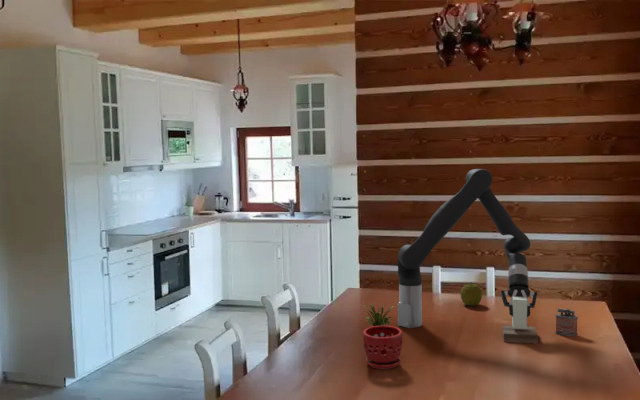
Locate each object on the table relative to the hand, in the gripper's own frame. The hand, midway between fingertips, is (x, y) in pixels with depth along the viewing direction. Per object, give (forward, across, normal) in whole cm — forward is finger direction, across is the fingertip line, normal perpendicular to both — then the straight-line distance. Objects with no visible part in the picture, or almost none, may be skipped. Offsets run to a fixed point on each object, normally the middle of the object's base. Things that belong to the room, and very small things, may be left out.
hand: (519, 315), depth 232 cm
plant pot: (+34, -47, -21) cm, 61 cm away
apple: (-28, -18, +41) cm, 53 cm away
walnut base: (+5, 0, +8) cm, 9 cm away
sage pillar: (+2, 0, +5) cm, 5 cm away
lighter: (0, +18, +14) cm, 22 cm away
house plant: (+19, -53, -6) cm, 56 cm away
